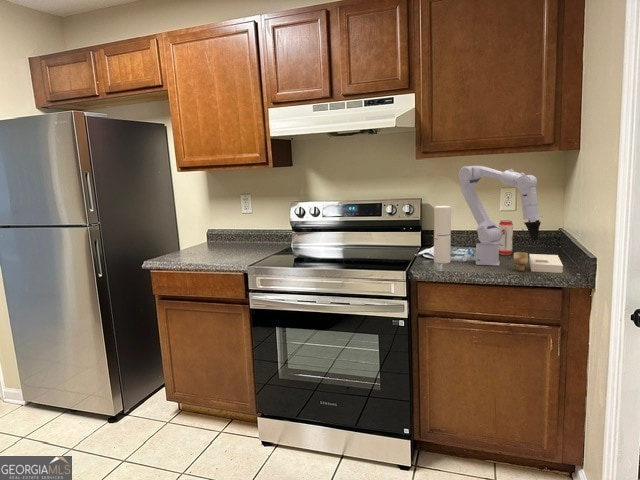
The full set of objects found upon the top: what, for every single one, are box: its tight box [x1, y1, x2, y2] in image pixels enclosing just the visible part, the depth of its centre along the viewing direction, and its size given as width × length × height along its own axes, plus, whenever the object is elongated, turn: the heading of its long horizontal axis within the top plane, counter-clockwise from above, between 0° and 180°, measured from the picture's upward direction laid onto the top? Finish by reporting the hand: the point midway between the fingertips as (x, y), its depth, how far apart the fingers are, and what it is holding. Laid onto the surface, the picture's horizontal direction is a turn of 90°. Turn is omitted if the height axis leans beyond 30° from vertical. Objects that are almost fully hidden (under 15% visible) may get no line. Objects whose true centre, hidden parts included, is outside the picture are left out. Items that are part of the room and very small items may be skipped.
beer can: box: [498, 219, 514, 256], centre depth 205 cm, size 6×6×16 cm
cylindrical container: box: [433, 205, 452, 264], centre depth 193 cm, size 7×7×25 cm
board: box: [528, 253, 564, 274], centre depth 180 cm, size 11×20×3 cm, turn 157°
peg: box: [512, 251, 529, 272], centre depth 175 cm, size 5×5×7 cm
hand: (534, 239), depth 172 cm, fingers open, 7 cm apart
